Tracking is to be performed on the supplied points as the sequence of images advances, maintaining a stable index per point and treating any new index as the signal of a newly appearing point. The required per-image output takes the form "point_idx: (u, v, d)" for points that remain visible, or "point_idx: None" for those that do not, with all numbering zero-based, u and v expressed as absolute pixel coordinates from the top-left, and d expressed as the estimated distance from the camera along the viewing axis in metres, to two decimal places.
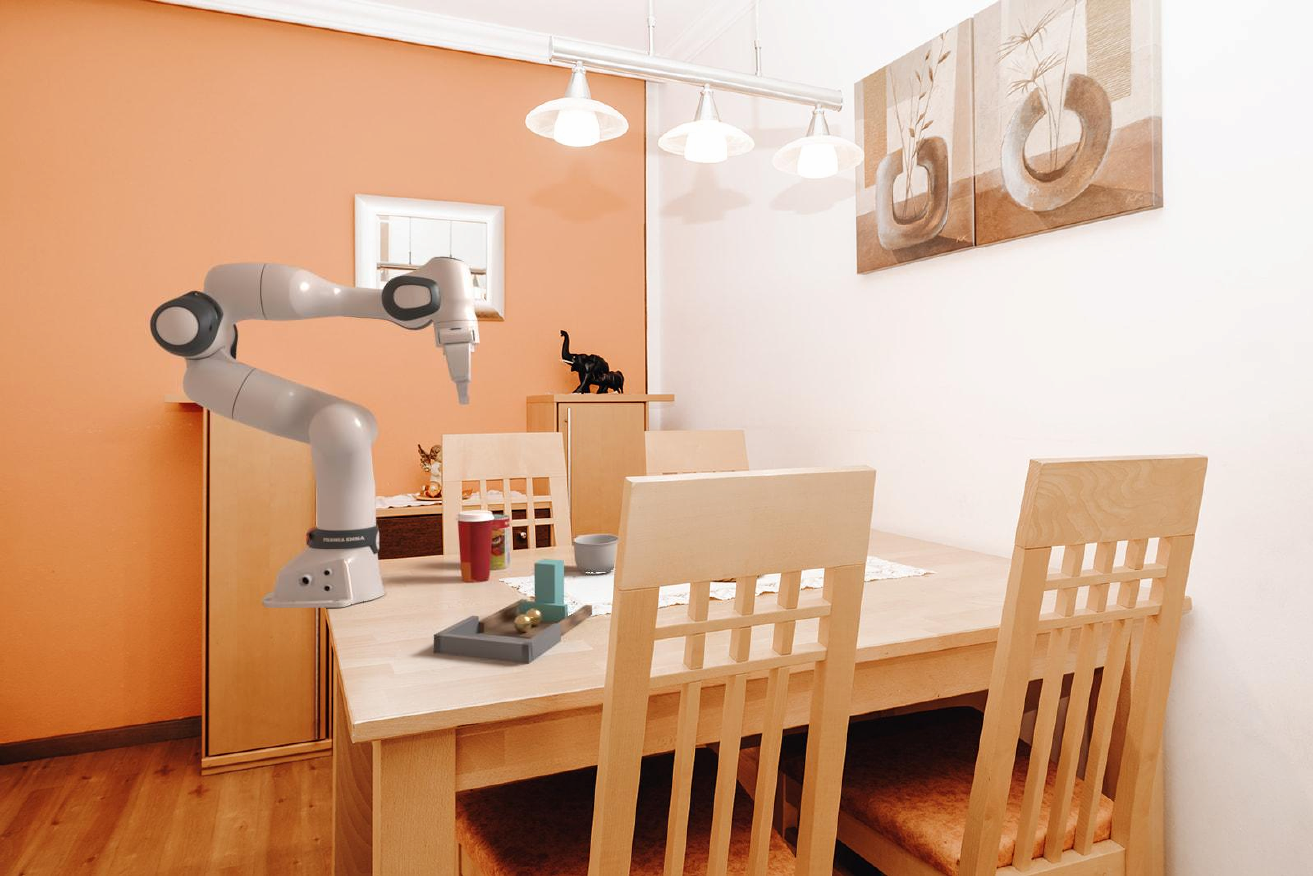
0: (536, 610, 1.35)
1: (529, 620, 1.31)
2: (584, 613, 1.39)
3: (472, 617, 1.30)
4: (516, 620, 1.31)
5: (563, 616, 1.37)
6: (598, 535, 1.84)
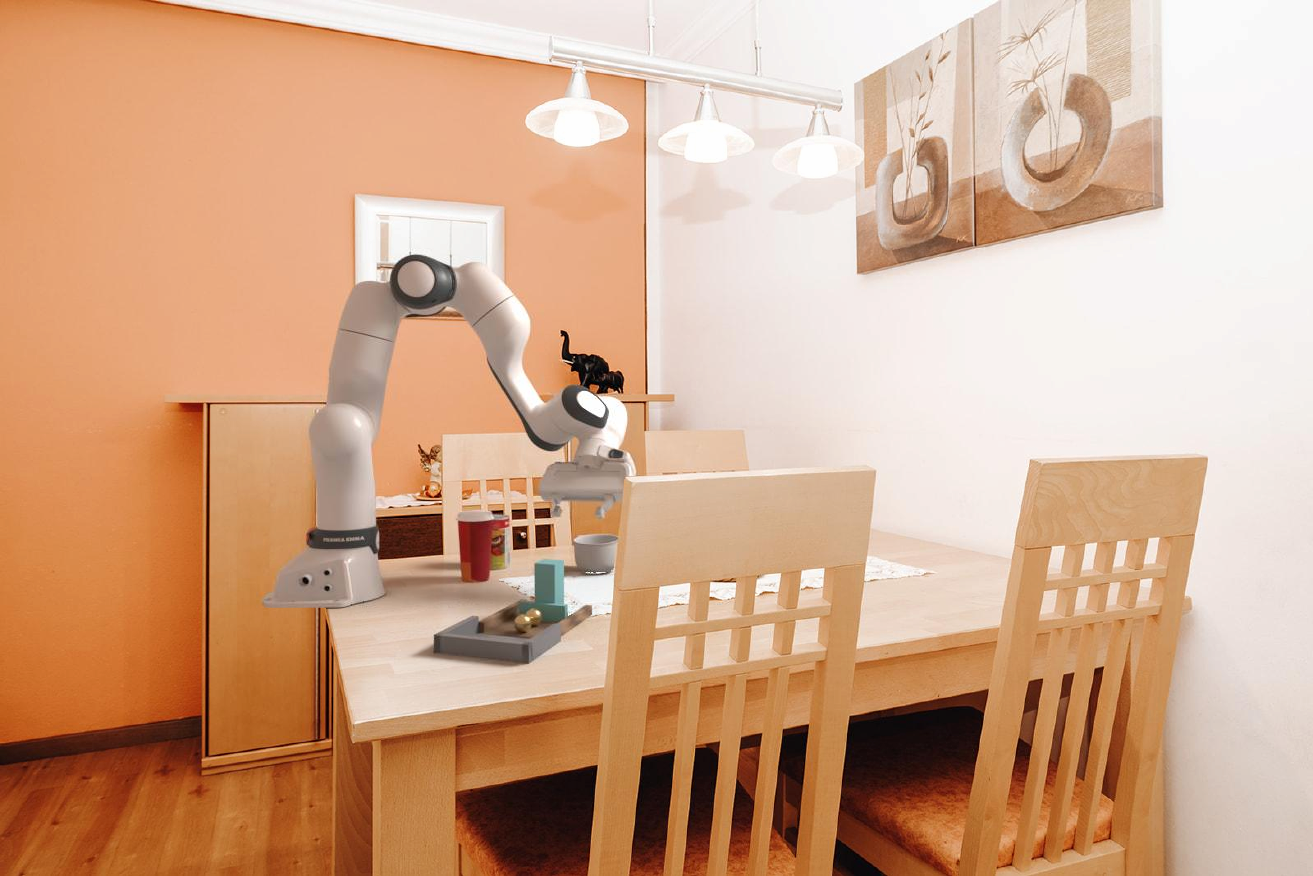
0: (536, 610, 1.35)
1: (529, 620, 1.31)
2: (584, 613, 1.39)
3: (472, 617, 1.30)
4: (516, 620, 1.31)
5: (563, 616, 1.37)
6: (598, 535, 1.84)
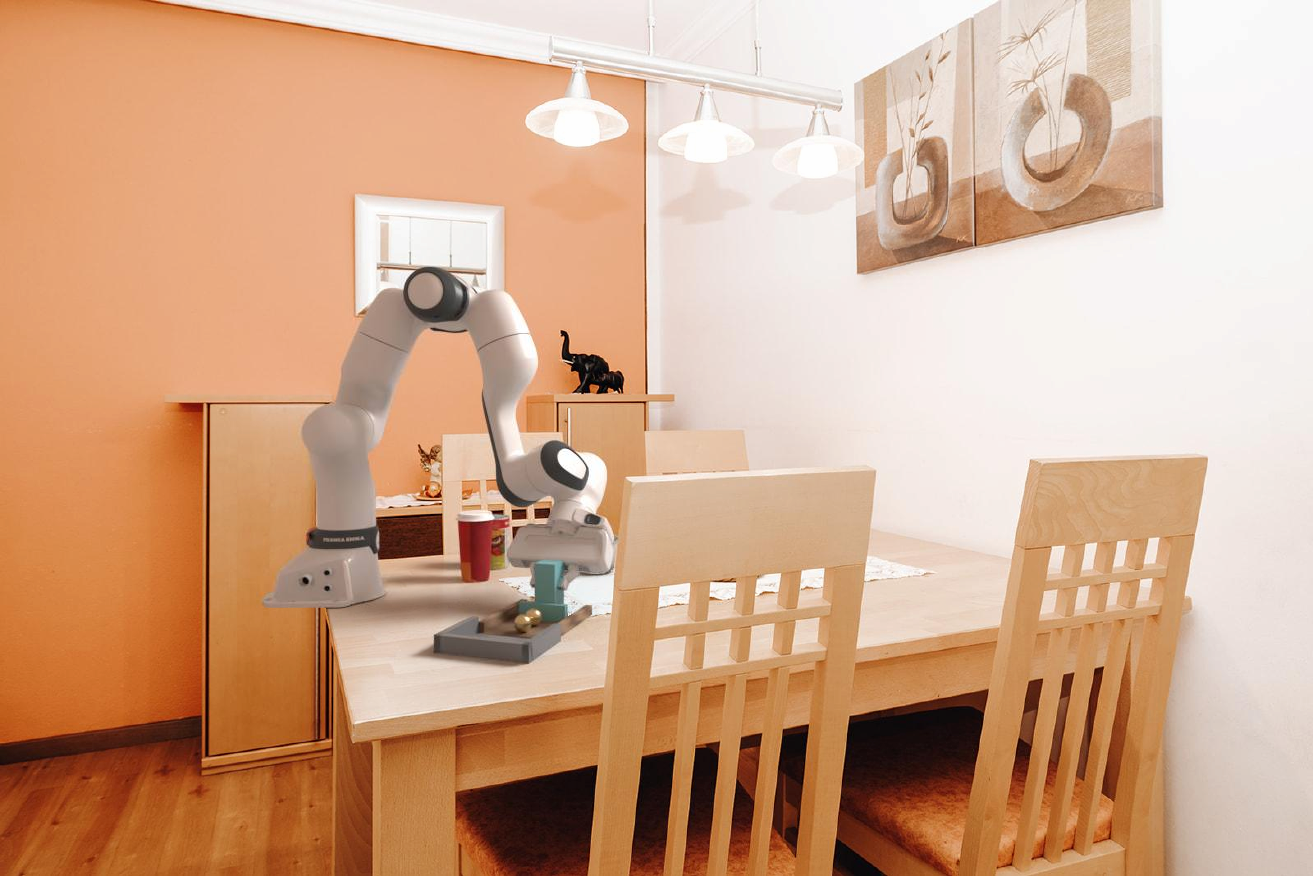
0: (536, 610, 1.35)
1: (529, 620, 1.31)
2: (584, 613, 1.39)
3: (472, 617, 1.30)
4: (516, 620, 1.31)
5: (563, 616, 1.37)
6: None
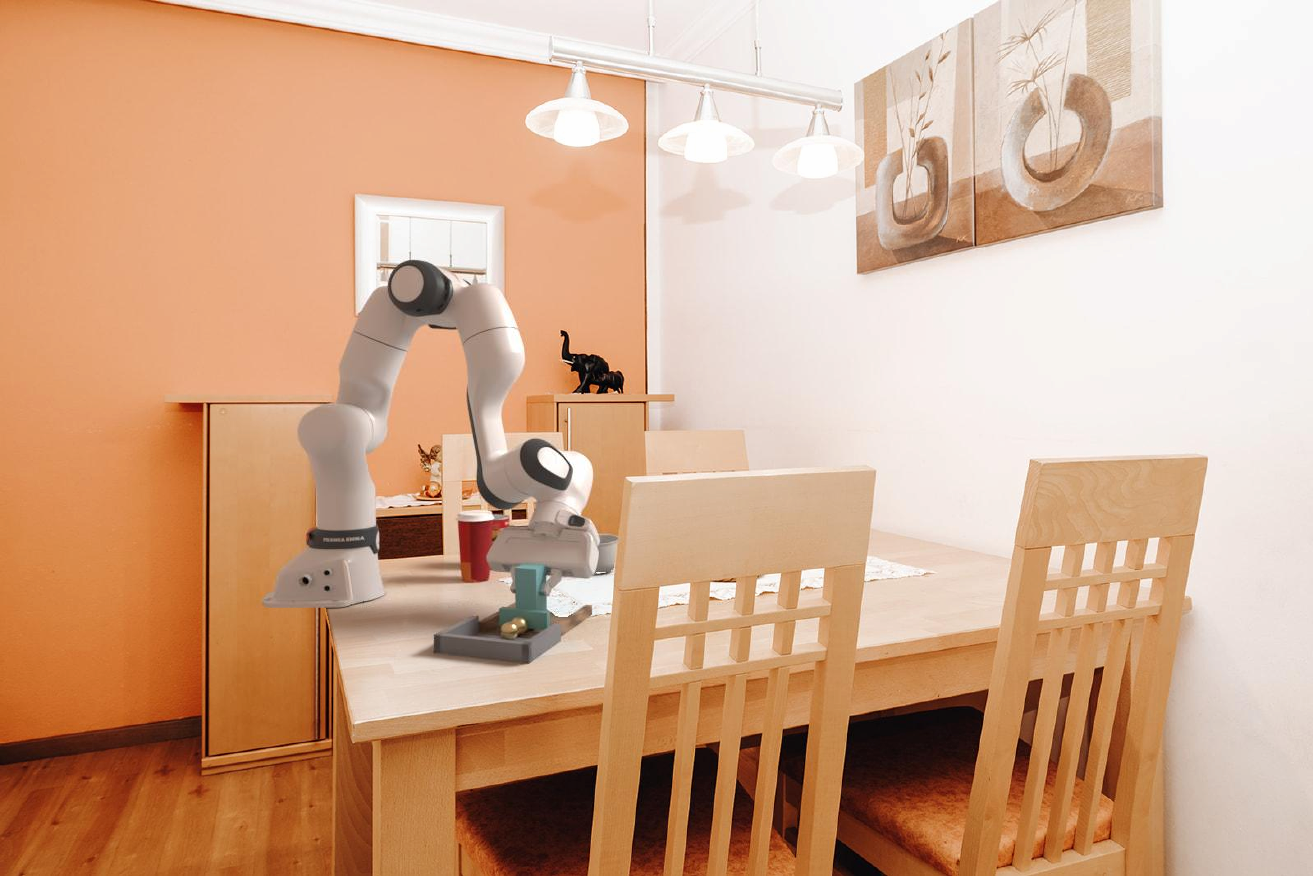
0: None
1: (517, 635, 1.27)
2: (584, 613, 1.39)
3: (472, 617, 1.30)
4: None
5: (545, 623, 1.30)
6: None
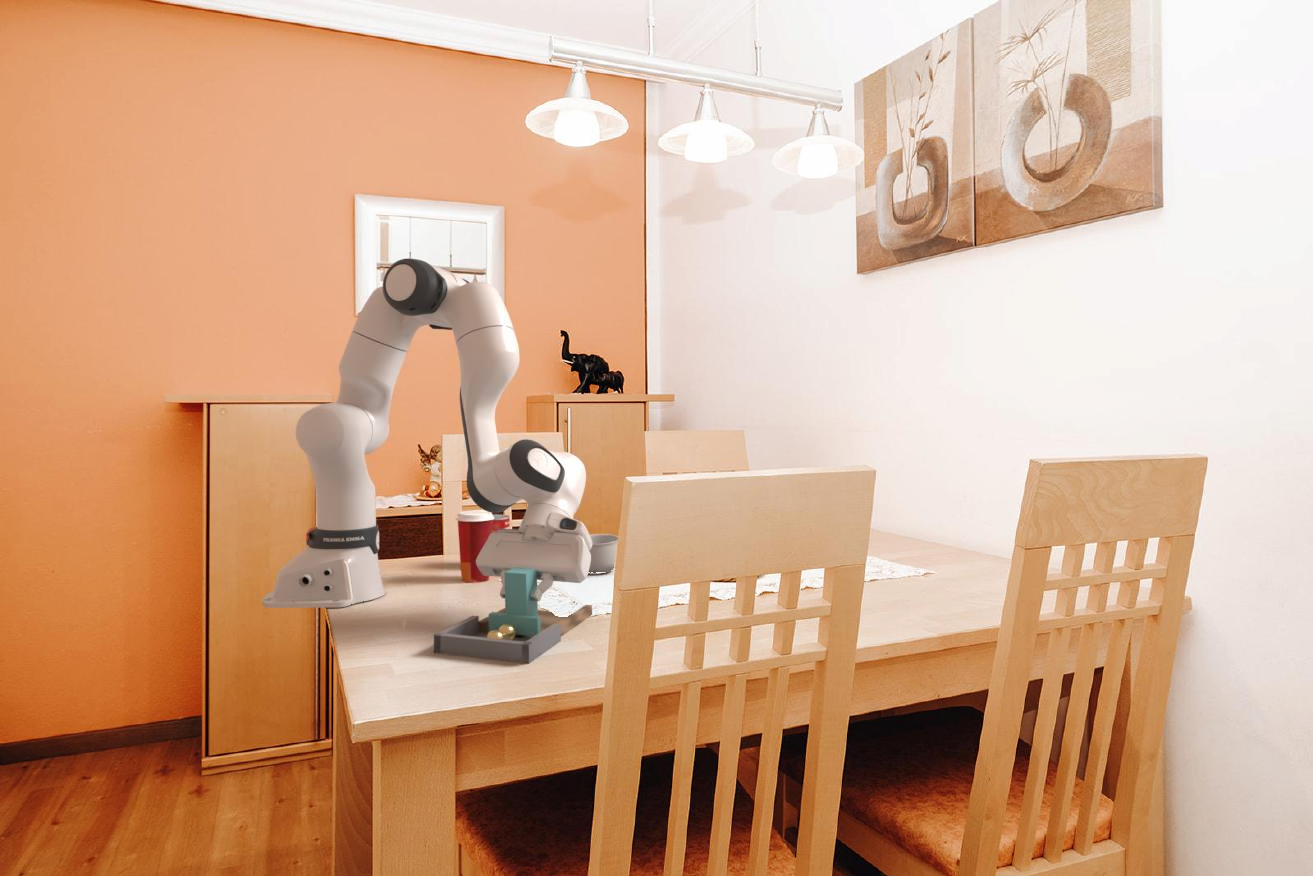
0: (509, 626, 1.25)
1: (501, 637, 1.22)
2: (584, 613, 1.39)
3: (472, 617, 1.30)
4: (487, 637, 1.21)
5: (536, 629, 1.27)
6: (598, 535, 1.84)
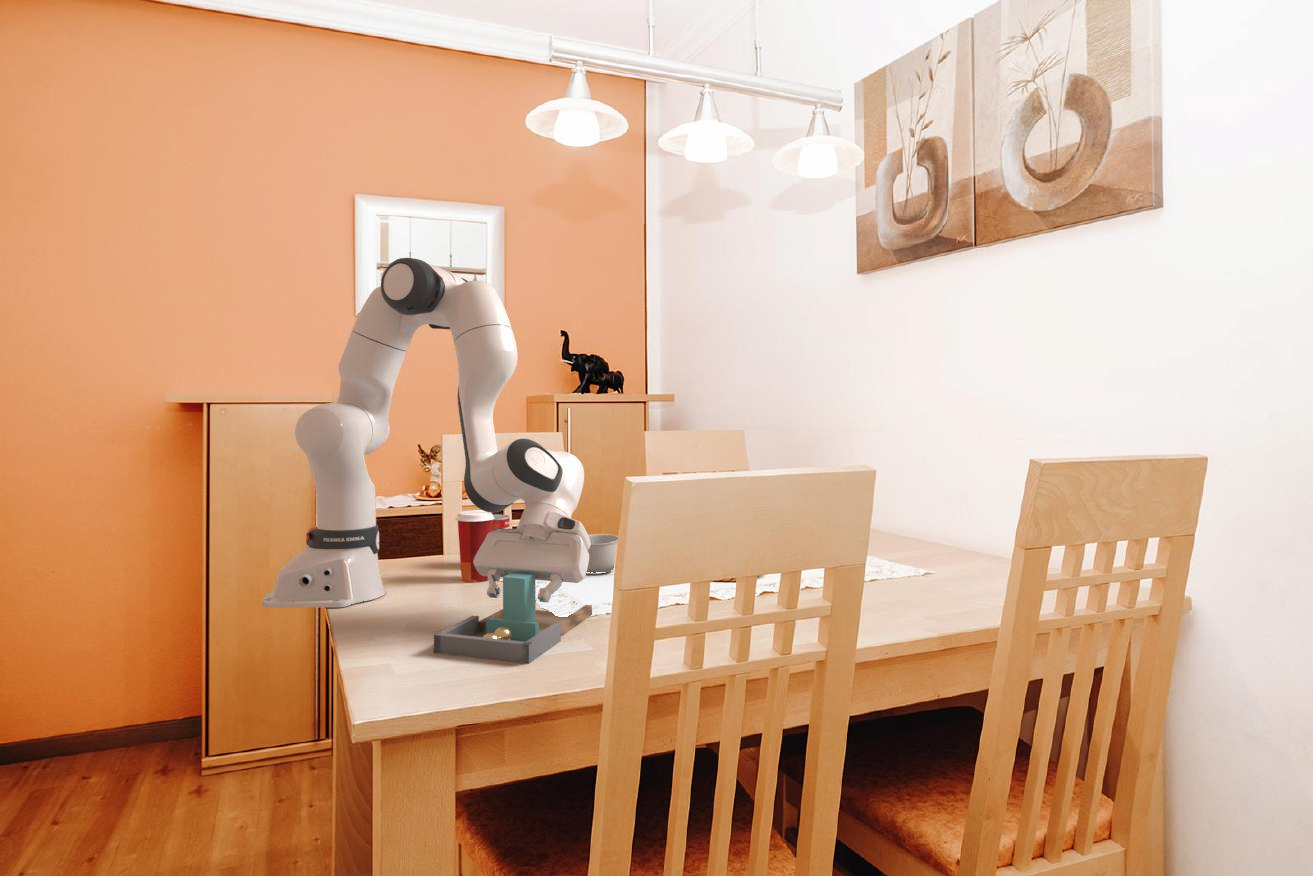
0: (502, 638, 1.23)
1: None
2: (584, 613, 1.39)
3: (472, 617, 1.30)
4: None
5: (533, 635, 1.26)
6: (598, 535, 1.84)
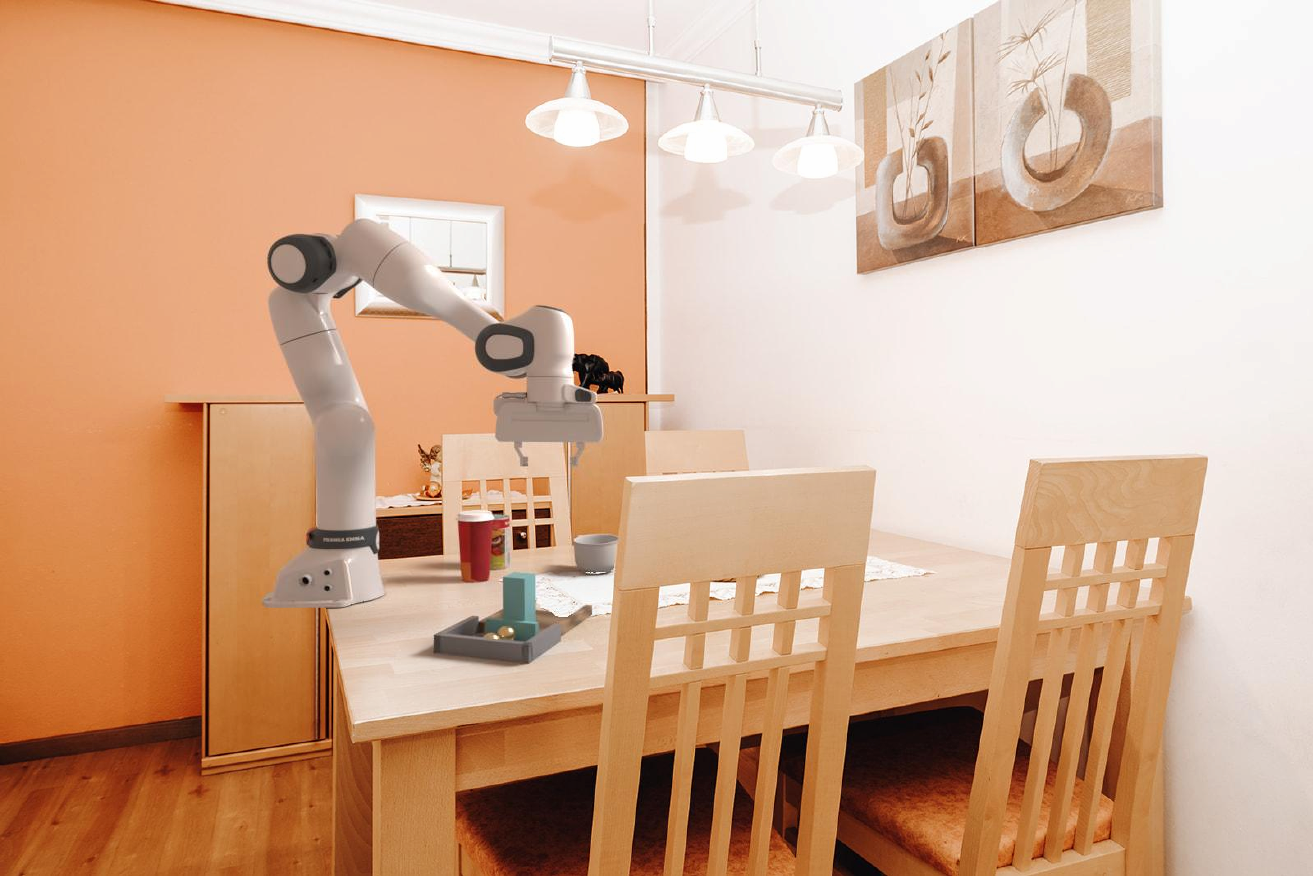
0: (506, 633, 1.23)
1: None
2: (584, 613, 1.39)
3: (472, 617, 1.30)
4: None
5: (533, 635, 1.26)
6: (598, 535, 1.84)
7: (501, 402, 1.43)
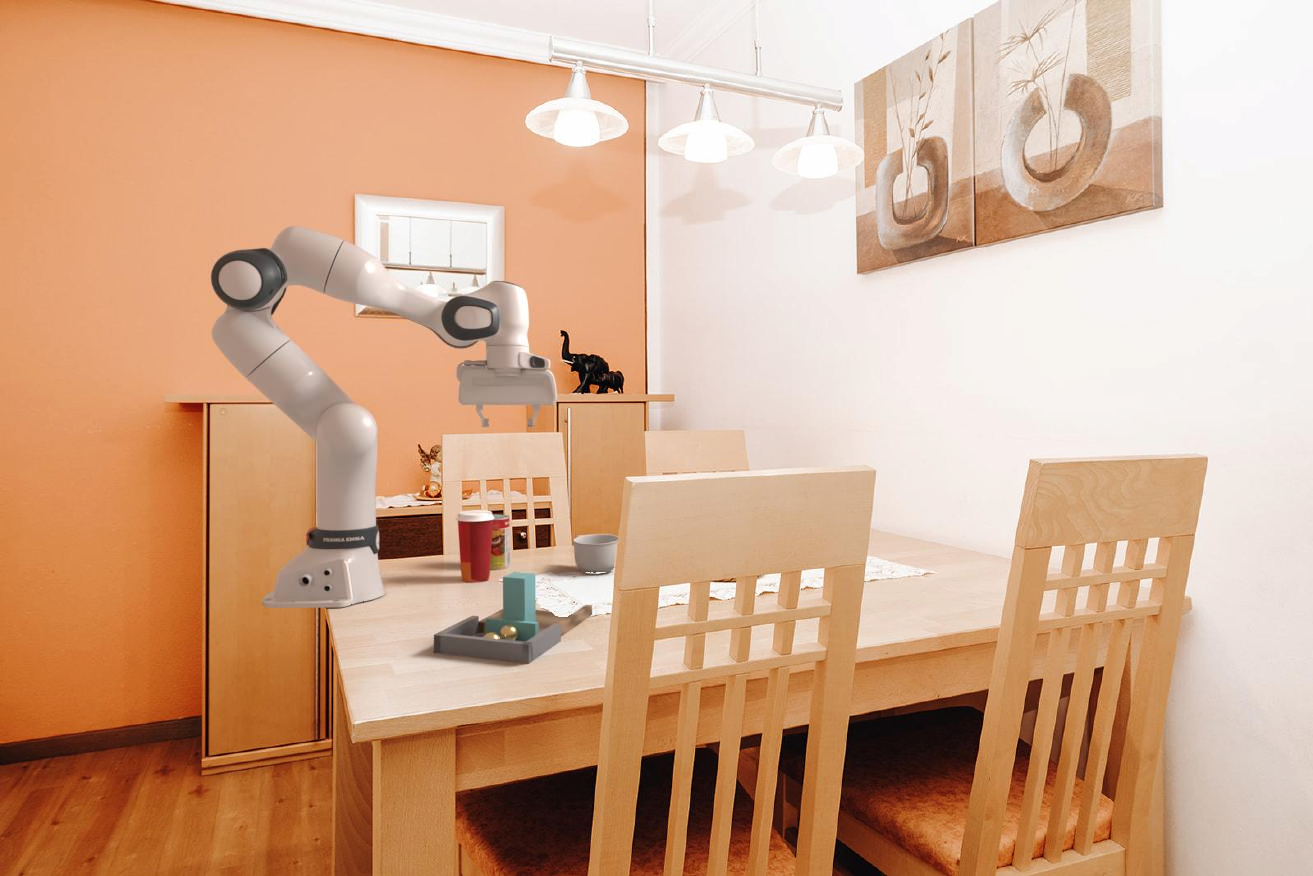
0: (510, 631, 1.24)
1: None
2: (584, 613, 1.39)
3: (472, 617, 1.30)
4: None
5: (533, 635, 1.26)
6: (598, 535, 1.84)
7: (463, 369, 1.59)
